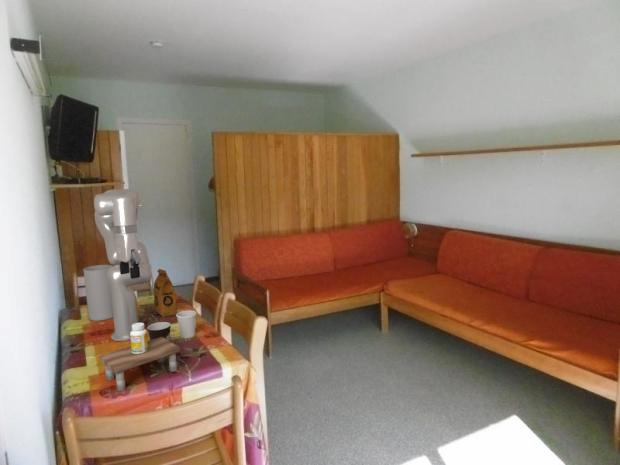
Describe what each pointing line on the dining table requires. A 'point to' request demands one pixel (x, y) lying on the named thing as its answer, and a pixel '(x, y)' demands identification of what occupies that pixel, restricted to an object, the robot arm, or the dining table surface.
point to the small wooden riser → (138, 359)
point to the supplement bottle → (138, 339)
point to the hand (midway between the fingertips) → (130, 275)
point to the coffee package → (164, 295)
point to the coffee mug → (159, 330)
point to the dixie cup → (187, 323)
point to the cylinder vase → (98, 293)
